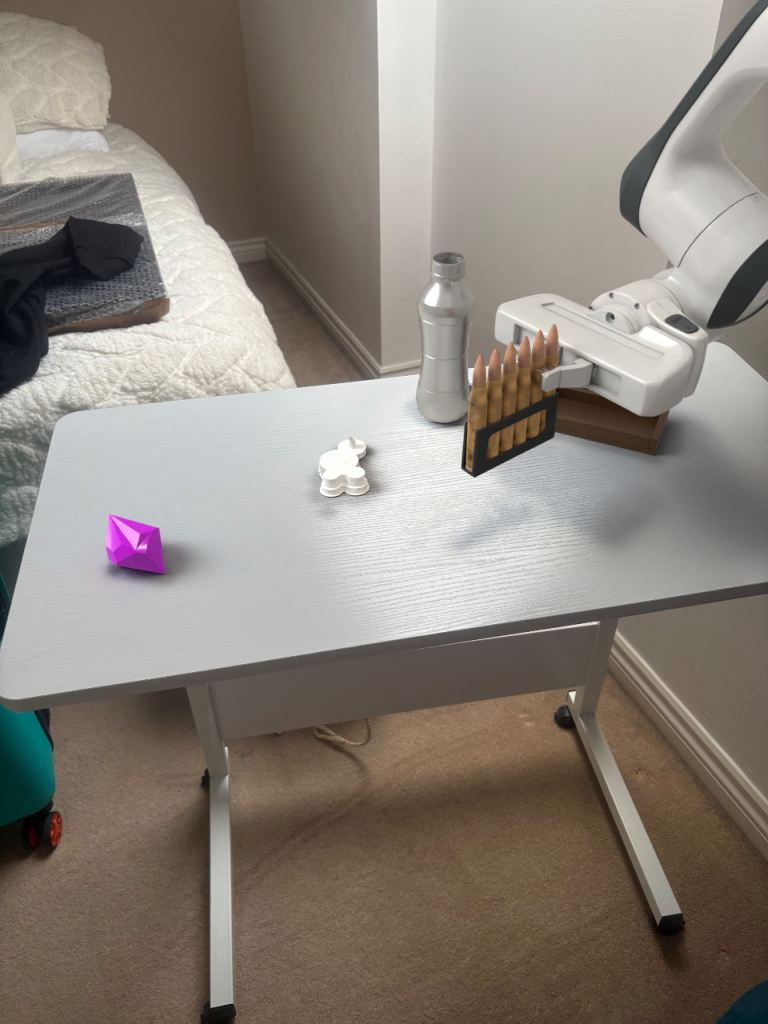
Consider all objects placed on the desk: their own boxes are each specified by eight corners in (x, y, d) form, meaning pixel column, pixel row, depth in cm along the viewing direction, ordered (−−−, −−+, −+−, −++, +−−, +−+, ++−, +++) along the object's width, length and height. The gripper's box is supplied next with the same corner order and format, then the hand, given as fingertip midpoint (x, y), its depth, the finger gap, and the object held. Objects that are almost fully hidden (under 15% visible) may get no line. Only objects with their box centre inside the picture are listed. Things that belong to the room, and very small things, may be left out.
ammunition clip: (541, 428, 82) (554, 317, 75) (555, 437, 81) (569, 324, 74) (460, 469, 78) (465, 354, 70) (473, 478, 76) (479, 362, 69)
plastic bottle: (471, 429, 99) (482, 270, 87) (415, 429, 100) (418, 270, 87) (468, 401, 104) (478, 246, 92) (414, 401, 105) (417, 246, 92)
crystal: (110, 581, 80) (99, 545, 77) (118, 544, 84) (108, 509, 81) (165, 577, 80) (156, 541, 77) (170, 540, 84) (162, 505, 81)
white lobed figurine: (397, 484, 91) (397, 468, 90) (327, 508, 88) (326, 492, 87) (358, 442, 98) (357, 426, 96) (291, 463, 95) (289, 447, 93)
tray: (666, 422, 100) (670, 407, 99) (654, 455, 95) (657, 440, 94) (549, 396, 105) (551, 381, 104) (531, 426, 100) (533, 411, 99)
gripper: (555, 268, 86) (454, 303, 80) (724, 340, 73) (620, 389, 67) (548, 324, 90) (451, 362, 84) (707, 402, 77) (608, 453, 71)
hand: (528, 375), depth 75 cm, fingers closed on ammunition clip, 2 cm apart
